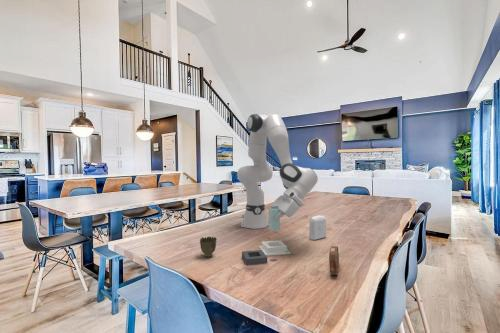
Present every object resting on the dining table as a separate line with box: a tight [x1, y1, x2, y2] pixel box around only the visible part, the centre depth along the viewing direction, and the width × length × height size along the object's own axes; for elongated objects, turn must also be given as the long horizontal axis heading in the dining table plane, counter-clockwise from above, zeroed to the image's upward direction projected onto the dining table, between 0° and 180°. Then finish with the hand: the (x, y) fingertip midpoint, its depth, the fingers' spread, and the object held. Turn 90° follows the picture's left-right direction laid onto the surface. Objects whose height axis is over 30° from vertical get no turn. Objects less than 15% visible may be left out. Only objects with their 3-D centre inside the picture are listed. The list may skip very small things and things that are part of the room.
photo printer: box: [308, 214, 327, 241], centre depth 141 cm, size 10×4×12 cm, turn 123°
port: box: [258, 239, 292, 257], centre depth 123 cm, size 12×12×3 cm
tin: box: [328, 245, 340, 276], centre depth 101 cm, size 15×3×8 cm, turn 158°
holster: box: [241, 249, 268, 266], centre depth 111 cm, size 9×9×2 cm
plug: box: [268, 205, 281, 232], centre depth 122 cm, size 4×4×11 cm
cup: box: [199, 236, 218, 258], centre depth 116 cm, size 8×7×8 cm
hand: (273, 218), depth 122 cm, fingers closed on plug, 4 cm apart
